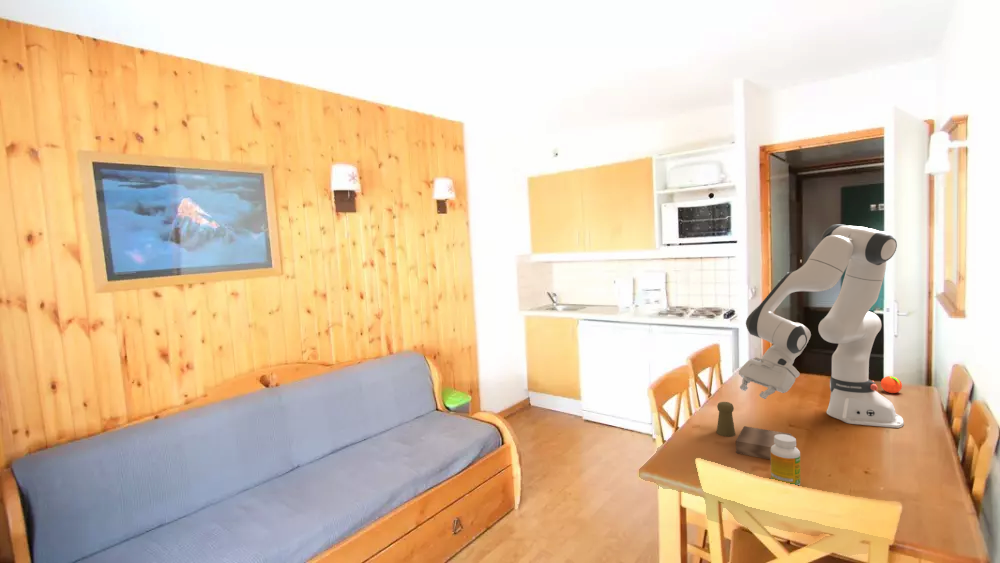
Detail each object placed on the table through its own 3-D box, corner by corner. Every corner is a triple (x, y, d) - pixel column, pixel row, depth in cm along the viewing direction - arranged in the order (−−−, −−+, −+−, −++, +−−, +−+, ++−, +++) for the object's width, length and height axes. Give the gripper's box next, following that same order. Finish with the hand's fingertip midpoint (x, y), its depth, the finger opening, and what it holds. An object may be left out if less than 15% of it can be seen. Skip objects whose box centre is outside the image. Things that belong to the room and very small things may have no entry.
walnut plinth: (791, 445, 157) (791, 433, 157) (786, 462, 146) (786, 450, 146) (744, 437, 165) (744, 426, 165) (736, 452, 154) (735, 440, 154)
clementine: (908, 395, 197) (908, 378, 196) (891, 396, 197) (891, 379, 196) (892, 389, 205) (893, 373, 204) (876, 390, 205) (876, 374, 204)
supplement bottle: (800, 490, 130) (800, 444, 129) (770, 485, 134) (769, 440, 133) (800, 479, 136) (800, 435, 135) (771, 474, 140) (771, 431, 139)
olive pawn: (737, 436, 166) (737, 405, 165) (718, 436, 167) (718, 405, 167) (732, 430, 172) (732, 400, 171) (714, 429, 173) (714, 399, 172)
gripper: (748, 351, 180) (726, 379, 178) (793, 364, 160) (768, 396, 159) (758, 361, 181) (736, 390, 180) (804, 375, 161) (779, 407, 160)
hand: (751, 393), depth 169 cm, fingers open, 8 cm apart
